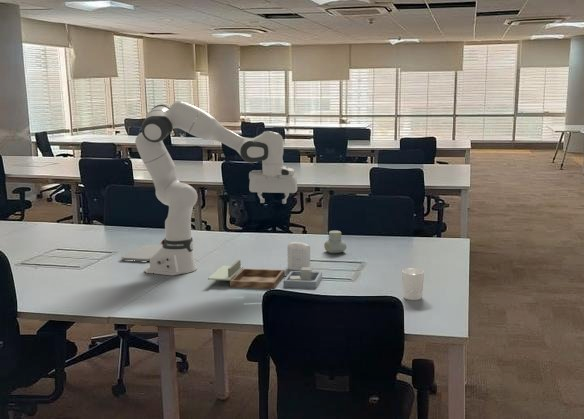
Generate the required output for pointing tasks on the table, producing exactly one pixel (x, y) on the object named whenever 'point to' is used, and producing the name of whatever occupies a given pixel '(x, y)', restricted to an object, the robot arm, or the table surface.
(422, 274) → the white cup
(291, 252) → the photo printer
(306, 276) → the beige small block
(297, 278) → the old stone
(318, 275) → the bin
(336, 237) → the air freshener
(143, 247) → the tablet
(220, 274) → the lid
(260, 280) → the wooden tray
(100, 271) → the table surface
